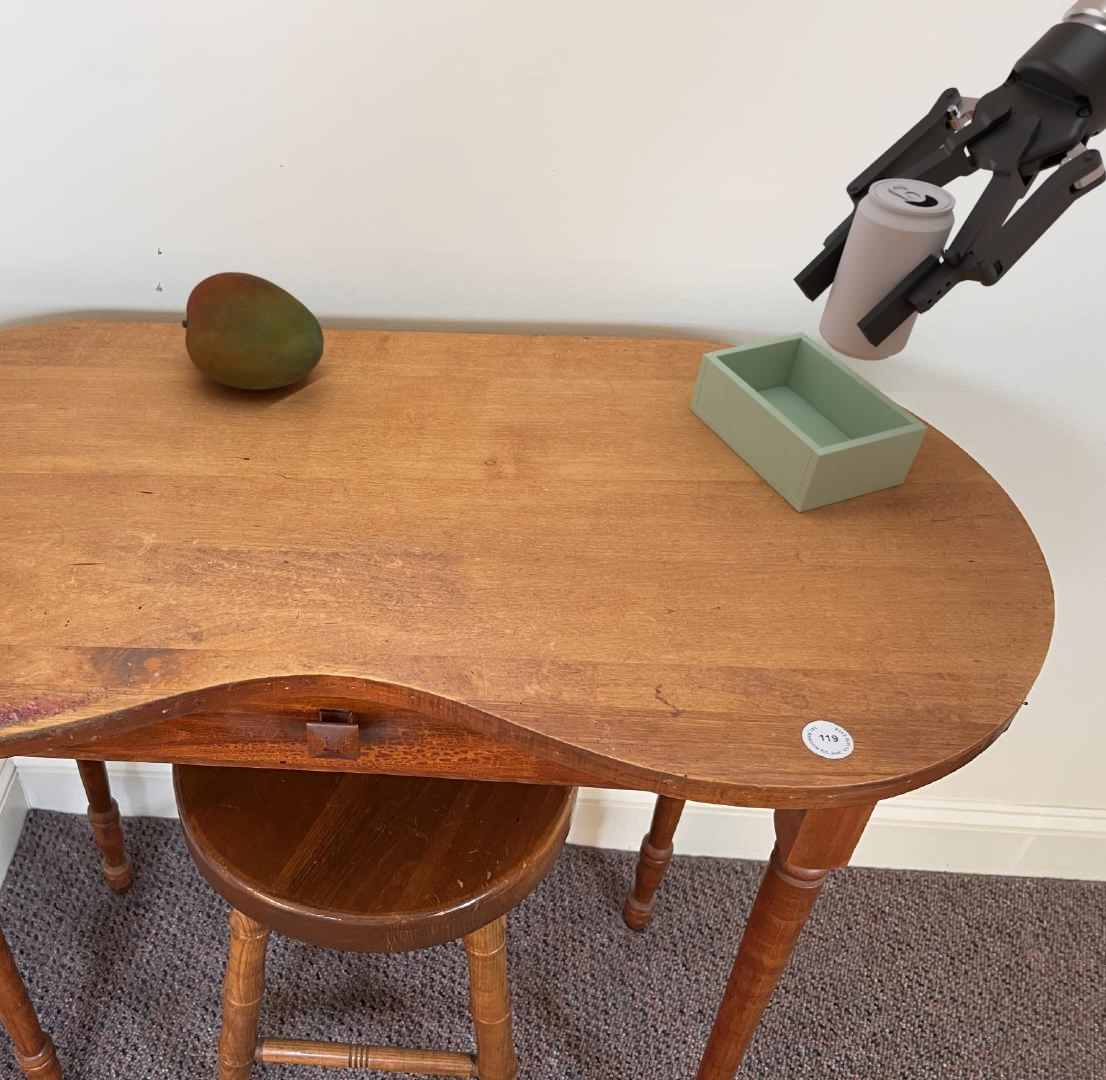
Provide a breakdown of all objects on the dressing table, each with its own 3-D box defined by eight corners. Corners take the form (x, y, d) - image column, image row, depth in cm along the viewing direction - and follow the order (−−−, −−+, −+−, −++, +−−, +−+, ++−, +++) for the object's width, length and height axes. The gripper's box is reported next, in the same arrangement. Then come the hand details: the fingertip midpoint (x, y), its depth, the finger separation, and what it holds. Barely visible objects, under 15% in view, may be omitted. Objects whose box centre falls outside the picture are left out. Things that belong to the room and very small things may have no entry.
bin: (903, 484, 86) (928, 427, 82) (798, 513, 83) (820, 455, 79) (785, 386, 97) (802, 331, 93) (689, 408, 94) (702, 353, 90)
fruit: (191, 347, 100) (178, 252, 94) (320, 340, 102) (316, 246, 95) (188, 416, 92) (174, 316, 85) (328, 408, 93) (325, 309, 86)
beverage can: (862, 374, 77) (919, 220, 68) (797, 334, 81) (844, 185, 73) (920, 352, 79) (983, 201, 71) (855, 314, 83) (907, 168, 75)
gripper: (1238, 141, 66) (944, 404, 72) (1003, 51, 79) (772, 280, 86) (1226, 63, 61) (911, 353, 67) (977, -19, 74) (734, 229, 81)
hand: (834, 312), depth 77 cm, fingers closed on beverage can, 6 cm apart
